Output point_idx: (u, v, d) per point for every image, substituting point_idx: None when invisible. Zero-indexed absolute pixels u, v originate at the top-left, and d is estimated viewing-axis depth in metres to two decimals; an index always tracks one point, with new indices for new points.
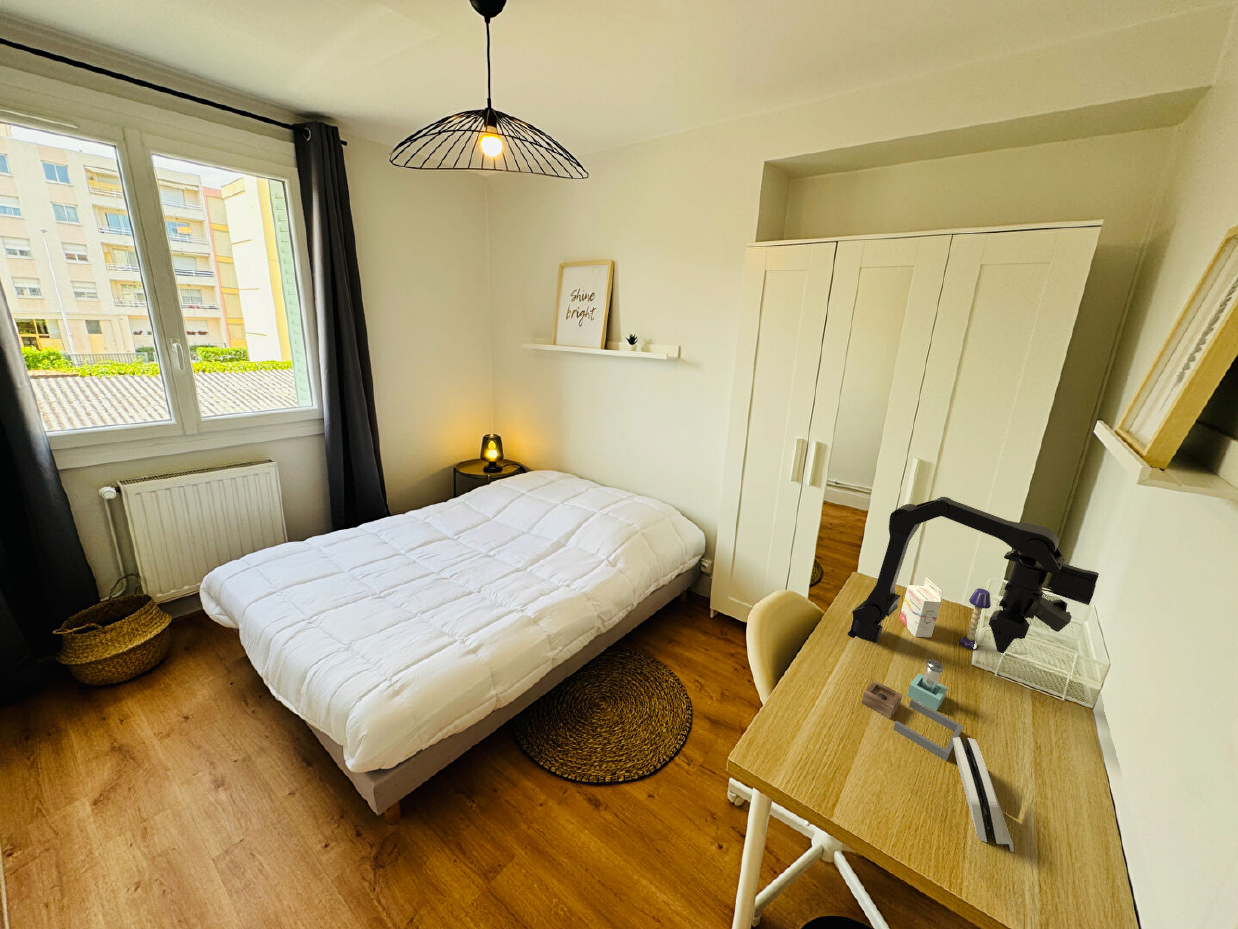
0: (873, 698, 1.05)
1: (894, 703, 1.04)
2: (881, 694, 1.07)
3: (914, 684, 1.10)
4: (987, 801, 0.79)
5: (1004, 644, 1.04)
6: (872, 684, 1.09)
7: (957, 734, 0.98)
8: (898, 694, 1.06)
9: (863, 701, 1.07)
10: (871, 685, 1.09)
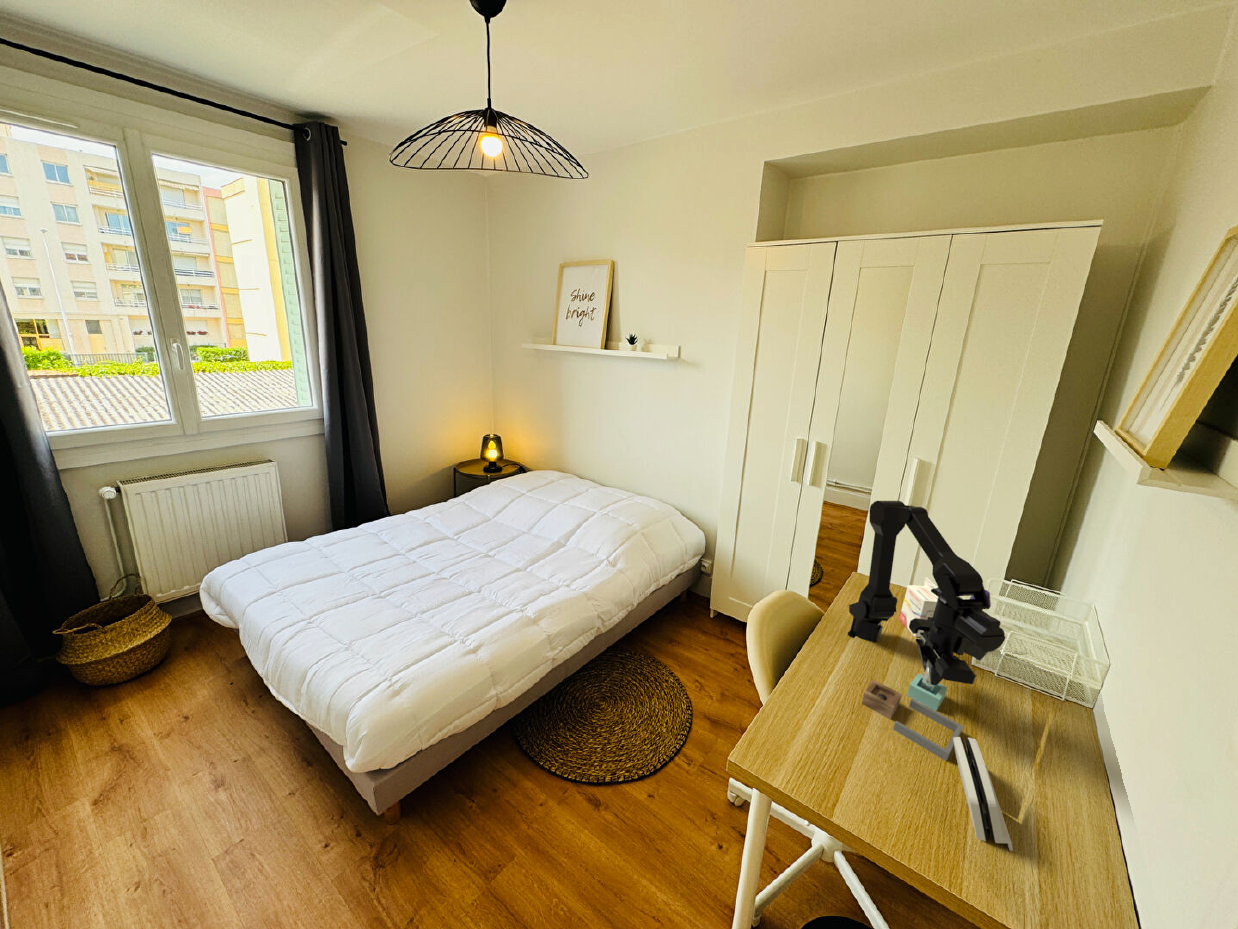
0: (873, 698, 1.05)
1: (894, 703, 1.04)
2: (881, 694, 1.07)
3: (913, 684, 1.10)
4: (986, 800, 0.79)
5: (939, 677, 1.06)
6: (871, 684, 1.09)
7: (957, 734, 0.98)
8: (898, 694, 1.06)
9: (863, 702, 1.07)
10: (871, 685, 1.09)
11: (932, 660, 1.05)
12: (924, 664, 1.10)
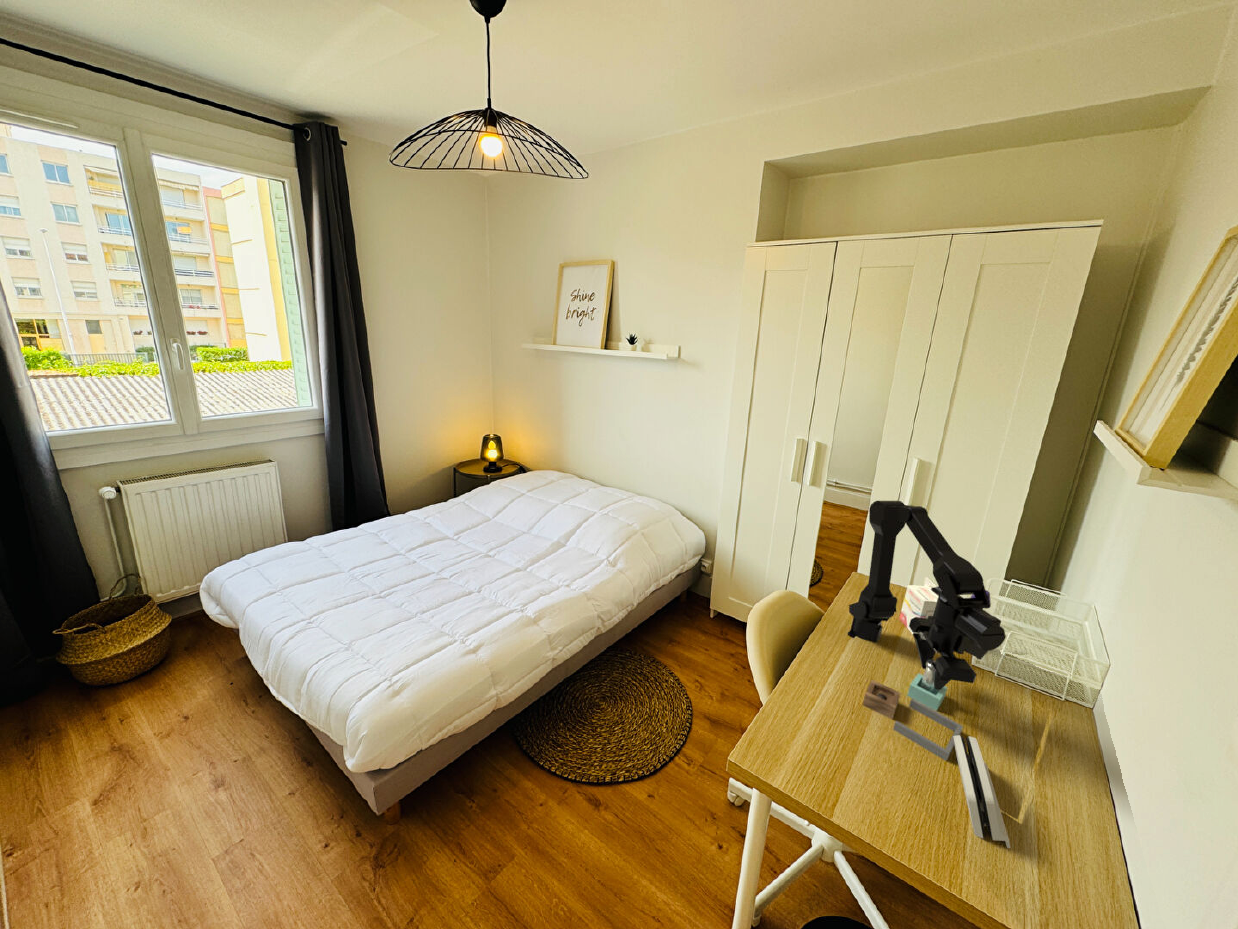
0: (875, 699, 1.05)
1: (895, 702, 1.04)
2: (881, 694, 1.07)
3: (914, 684, 1.10)
4: (984, 797, 0.80)
5: (943, 682, 1.04)
6: (871, 684, 1.09)
7: (957, 734, 0.98)
8: (897, 692, 1.07)
9: (864, 703, 1.06)
10: (870, 686, 1.08)
11: (936, 664, 1.03)
12: (921, 658, 1.11)
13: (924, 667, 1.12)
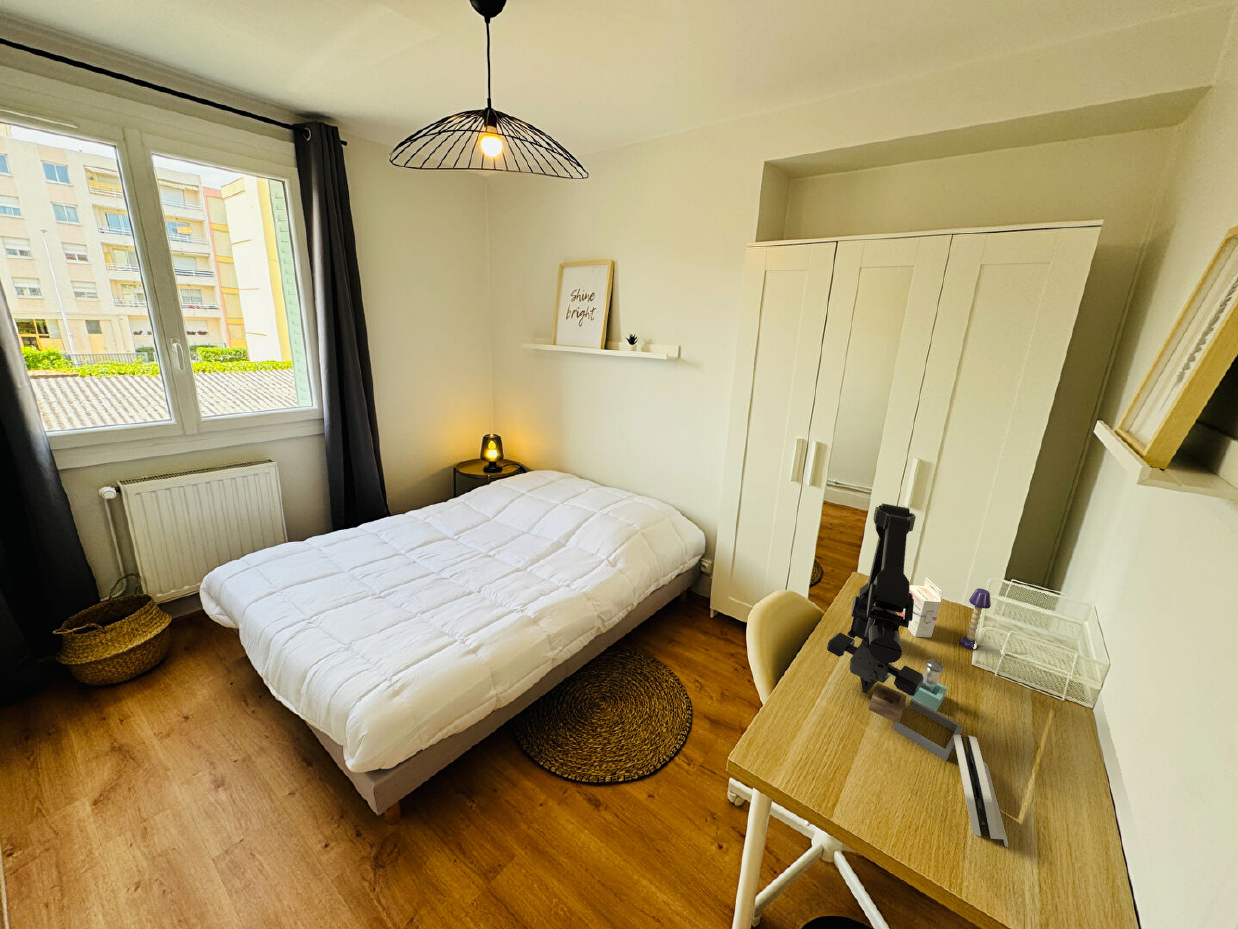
0: (881, 703, 1.04)
1: (902, 706, 1.03)
2: (887, 697, 1.06)
3: None
4: (982, 796, 0.80)
5: None
6: (876, 688, 1.08)
7: (957, 734, 0.98)
8: (903, 695, 1.06)
9: (871, 707, 1.05)
10: (876, 689, 1.07)
11: None
12: None
13: None
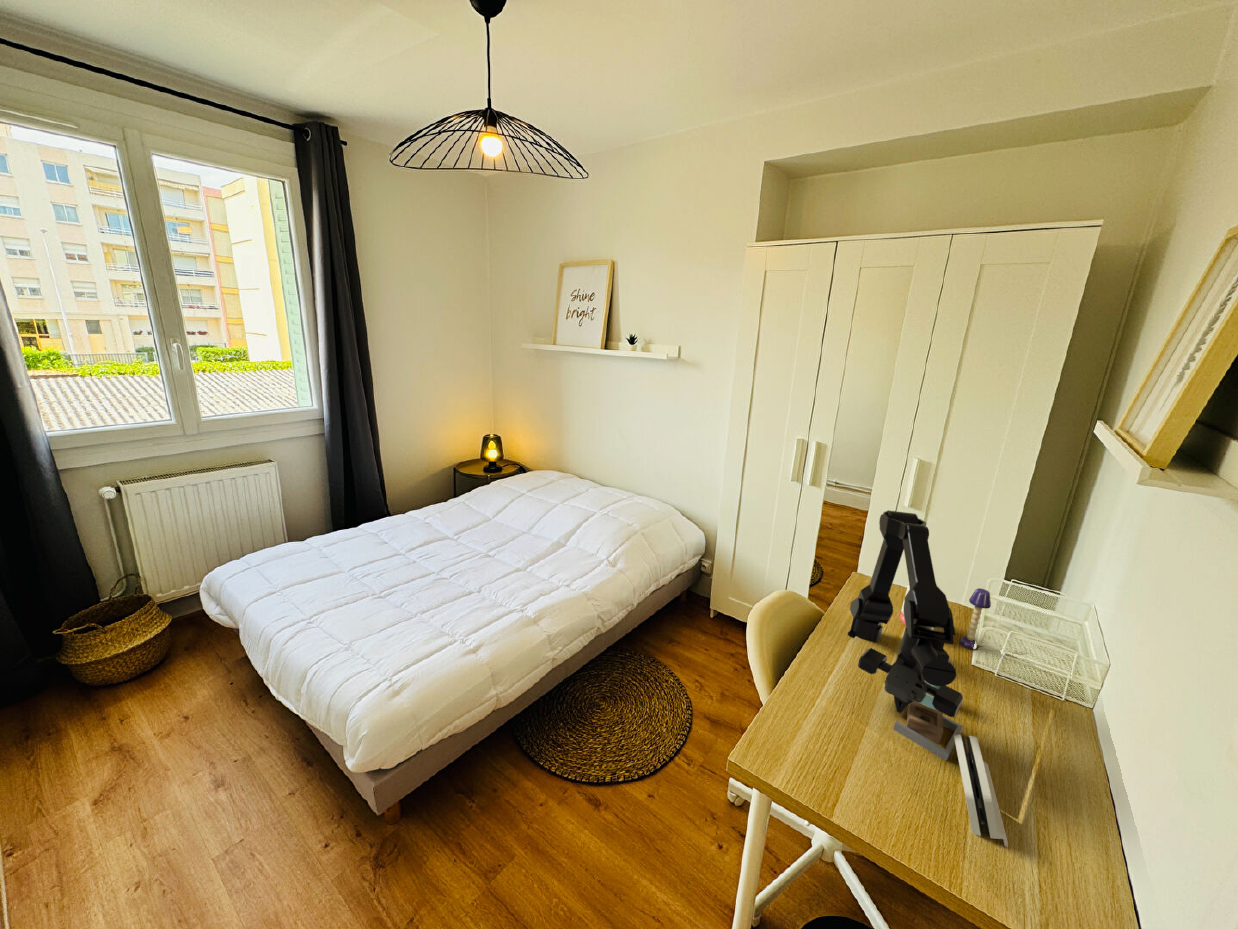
0: (920, 723, 0.99)
1: (941, 725, 0.99)
2: (923, 716, 1.02)
3: None
4: (981, 795, 0.80)
5: None
6: (911, 706, 1.03)
7: (957, 734, 0.98)
8: (939, 713, 1.02)
9: (908, 727, 1.01)
10: (911, 707, 1.03)
11: None
12: None
13: None
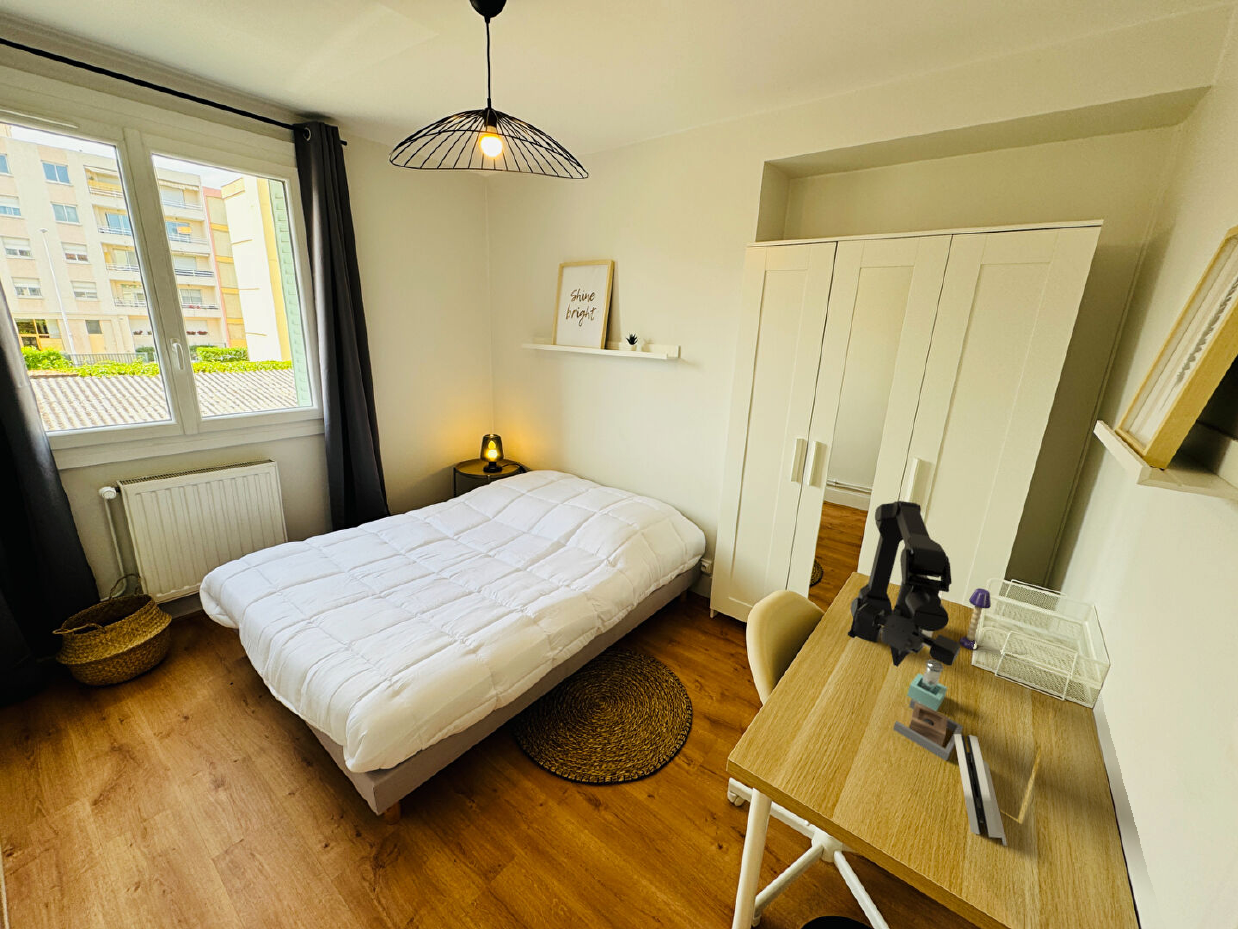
0: (922, 725, 0.99)
1: (944, 728, 0.98)
2: (927, 719, 1.01)
3: (914, 684, 1.10)
4: (980, 794, 0.80)
5: None
6: (915, 708, 1.03)
7: None
8: (944, 717, 1.01)
9: None
10: (915, 710, 1.02)
11: None
12: None
13: None
